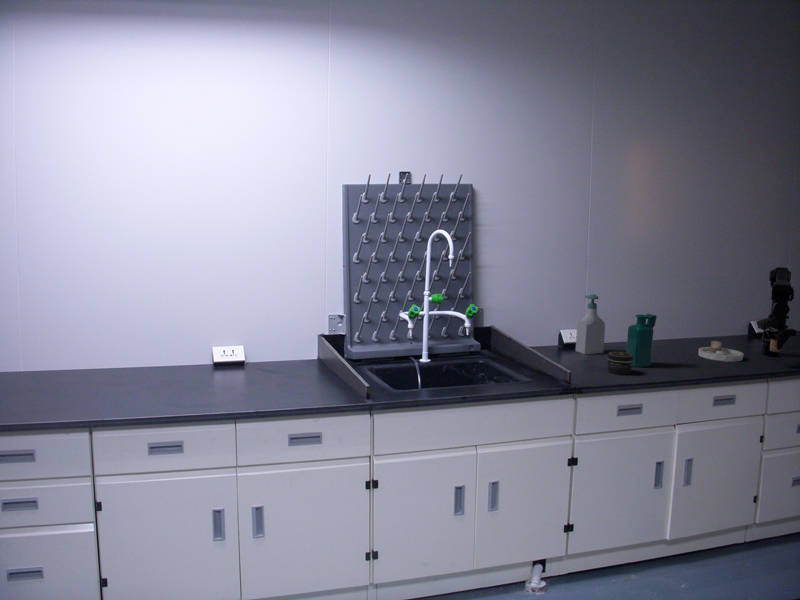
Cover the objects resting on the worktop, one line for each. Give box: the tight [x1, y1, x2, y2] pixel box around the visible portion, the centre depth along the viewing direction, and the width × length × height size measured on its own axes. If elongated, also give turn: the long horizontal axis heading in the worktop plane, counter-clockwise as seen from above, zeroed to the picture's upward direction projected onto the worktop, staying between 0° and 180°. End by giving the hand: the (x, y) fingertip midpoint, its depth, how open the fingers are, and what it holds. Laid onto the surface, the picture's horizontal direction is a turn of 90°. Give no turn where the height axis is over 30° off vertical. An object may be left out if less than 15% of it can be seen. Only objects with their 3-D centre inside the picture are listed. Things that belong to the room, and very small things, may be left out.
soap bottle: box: [575, 293, 606, 355], centre depth 293 cm, size 11×8×27 cm
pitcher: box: [625, 313, 657, 368], centre depth 270 cm, size 10×8×22 cm
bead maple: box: [710, 340, 723, 353], centre depth 295 cm, size 4×4×5 cm
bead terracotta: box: [770, 339, 783, 353], centre depth 272 cm, size 4×4×5 cm
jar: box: [606, 351, 633, 376], centre depth 258 cm, size 10×10×8 cm
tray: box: [697, 346, 745, 363], centre depth 290 cm, size 18×18×3 cm
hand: (775, 348), depth 272 cm, fingers closed on bead terracotta, 4 cm apart
